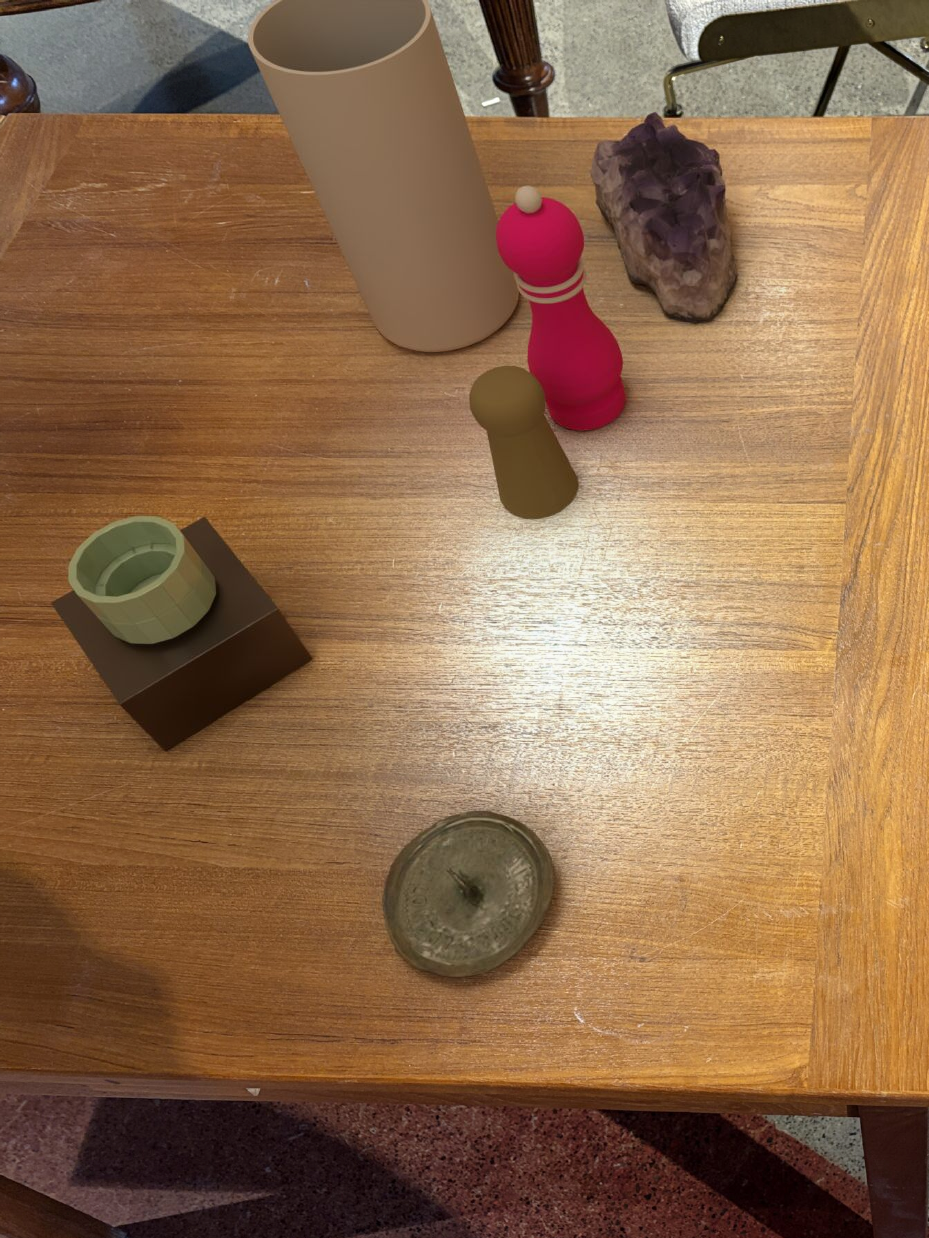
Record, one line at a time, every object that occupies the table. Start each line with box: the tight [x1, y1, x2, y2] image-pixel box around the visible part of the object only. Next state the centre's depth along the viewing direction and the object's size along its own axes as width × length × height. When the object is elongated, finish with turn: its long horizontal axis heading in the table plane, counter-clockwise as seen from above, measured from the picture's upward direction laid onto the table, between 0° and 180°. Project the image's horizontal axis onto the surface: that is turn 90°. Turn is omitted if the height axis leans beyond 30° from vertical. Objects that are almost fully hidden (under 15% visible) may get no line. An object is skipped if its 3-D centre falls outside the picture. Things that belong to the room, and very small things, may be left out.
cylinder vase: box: [247, 0, 520, 353], centre depth 99 cm, size 12×12×25 cm
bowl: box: [67, 515, 216, 644], centre depth 83 cm, size 7×7×5 cm
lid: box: [381, 810, 555, 979], centre depth 77 cm, size 11×10×5 cm
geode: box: [589, 111, 739, 324], centre depth 110 cm, size 20×12×10 cm, turn 22°
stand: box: [50, 516, 314, 752], centre depth 87 cm, size 11×11×6 cm
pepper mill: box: [496, 185, 627, 432], centre depth 95 cm, size 7×7×20 cm
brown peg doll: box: [468, 365, 580, 520], centre depth 93 cm, size 6×6×11 cm
